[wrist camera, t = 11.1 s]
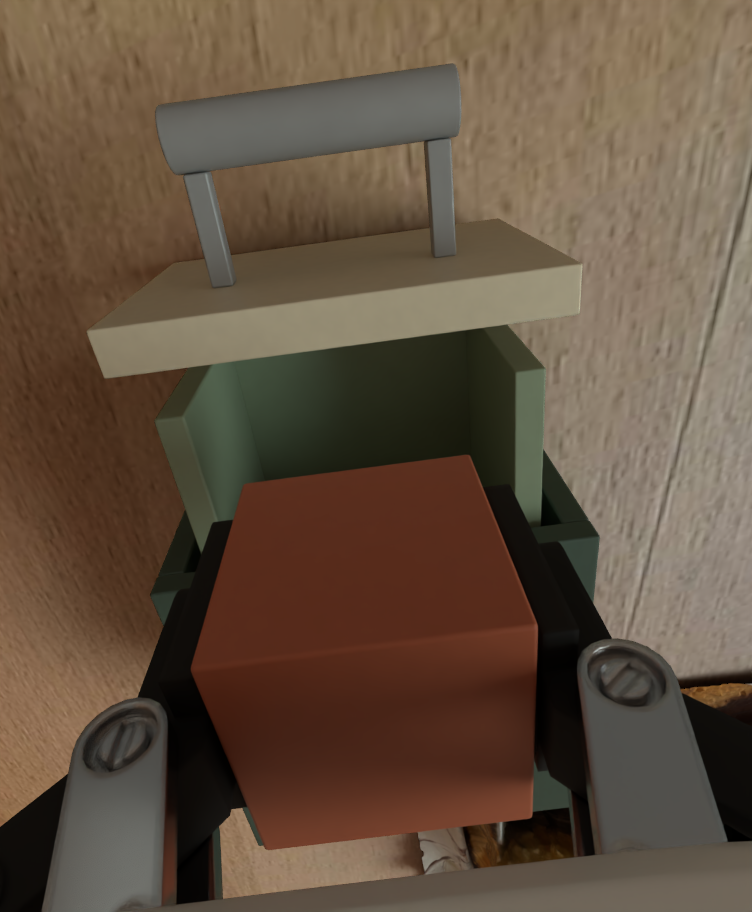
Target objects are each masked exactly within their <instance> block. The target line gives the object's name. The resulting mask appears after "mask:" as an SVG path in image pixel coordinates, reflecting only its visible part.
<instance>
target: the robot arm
mask: <svg viewBox="0 0 752 912" xmlns="http://www.w3.org/2000/svg"><path fill="white" fill-rule="evenodd" d="M483 489H484V492H485V494H486V497H487V499H488V502H489V504H490V507H491V509H492V512H493V514H494V517H495V519H496V522H497V524H498V527H499V529H500V532H501V534H502V537H503V539H504V542H505V544H506V547H507V549H508V552H509V554H510V557H511V559H512V562H513V564H514V567H515V569H516V572H517V574H518V577H519V579H520V582H521V584H522V587H523V589H524V592H525V594H526V597H527V599H528V602H529V604H530V607H531V609H532V612H533V614H534V617H535V619H536V622H537V624H538V646H537V679H536V713H535V746H534V761H535V764H536V767H537V770H538V772H541V771H549V774H550V777H552V778H553V779H555V780H556V781H558V782H560V783H561V784H563V785H564V786H566V787H567V791H568V801H569V811H570V822H571V832H572V842H573V852H574V858H565V859H557V860H548V861H539V862H530V863H521V864H513V865H504V866H495V867H486V868H477V869H468V870H460V871H451V872H443V873H434V874H426V875H418V876H409V877H401V878H392V879H384V880H375V881H367V882H359V883H350V884H342V885H334V886H325V887H317V888H309V889H300V890H292V891H283V892H275V893H267V894H259V895H251V896H243V897H235V898H227V899H223V887H222V867H221V847H220V830H219V826H220V825H221V824H222V823H223V822H224V821H225V820H226V819H227V818H228V817H229V816H230V812H231V809H236V808H244V807H247V804H246V802H245V800H244V797H243V795H242V792H241V790H240V788H239V785H238V783H237V780H236V778H235V776H234V773H233V771H232V769H231V766H230V764H229V761H228V759H227V757H226V754H225V752H224V749H223V747H222V745H221V742H220V740H219V737H218V735H217V733H216V730H215V728H214V725H213V723H212V721H211V718H210V716H209V714H208V711H207V709H206V706H205V704H204V702H203V699H202V697H201V694H200V692H199V690H198V687H197V685H196V682H195V680H194V678H193V675H192V673H191V665H192V662H193V658H194V655H195V651H196V648H197V644H198V641H199V637H200V634H201V631H202V627H203V624H204V620H205V617H206V613H207V610H208V606H209V603H210V599H211V596H212V592H213V589H214V585H215V582H216V578H217V575H218V571H219V568H220V564H221V561H222V557H223V554H224V550H225V547H226V543H227V540H228V537H229V533H230V530H231V526H232V523H233V520H225V521H218V522H213V523H212V525H211V528H210V531H209V533H208V536H207V539H206V542H205V545H204V548H203V551H202V554H201V557H200V560H199V563H198V566H197V569H196V572H195V575H194V578H193V581H192V583H191V586H190V588H186V589H180V590H179V591H178V592H177V593H176V595H175V597H174V599H173V602H172V605H171V608H170V610H169V613H168V616H167V619H166V621H165V624H164V627H163V629H162V632H161V635H160V638H159V640H158V643H157V646H156V649H155V651H154V654H153V657H152V659H151V662H150V665H149V668H148V670H147V673H146V676H145V678H144V681H143V684H142V687H141V689H140V692H139V695H138V698H133V699H128V700H124V701H122V702H119V703H117V704H115V705H112V706H110V707H109V708H107V709H106V710H104V711H103V712H101V713H100V714H99V715H97V716H96V717H95V718H94V719H93V720H92V721H91V722H90V723H89V724H88V725H87V726H86V727H85V729H84V730H83V732H82V733H81V735H80V736H79V738H78V739H77V741H76V744H75V747H74V749H73V752H72V757H71V762H70V767H69V772H68V774H67V775H66V776H65V777H63V778H62V779H61V780H59V781H58V782H57V783H56V784H54V785H53V786H52V787H51V788H49V789H48V790H47V791H45V792H44V793H43V794H42V795H40V796H39V797H38V798H37V799H35V800H34V801H33V802H31V803H30V804H29V805H28V806H26V807H25V808H24V809H22V810H21V811H20V812H19V813H17V814H16V815H15V816H14V817H12V818H11V819H10V820H8V821H7V822H6V823H5V824H3V825H2V826H1V827H0V912H752V726H750V725H748V724H746V723H744V722H742V721H740V720H737V719H735V718H733V717H731V716H729V715H727V714H725V713H723V712H721V711H719V710H717V709H715V708H713V707H710V706H708V705H706V704H704V703H702V702H700V701H698V700H696V699H694V698H692V697H690V696H688V695H686V694H684V693H681V690H680V687H679V684H678V680H677V678H676V676H675V674H674V672H673V670H672V668H671V666H670V665H669V664H668V663H667V662H666V661H665V660H664V659H663V658H662V657H661V656H660V655H659V654H658V653H656V652H654V651H653V650H651V649H650V648H648V647H647V646H644V645H641V644H639V643H636V642H634V641H629V640H623V639H612V638H611V636H610V634H609V632H608V630H607V628H606V627H605V625H604V623H603V621H602V619H601V617H600V615H599V613H598V612H597V610H596V608H595V606H594V604H593V602H592V600H591V599H590V597H589V595H588V593H587V591H586V589H585V587H584V585H583V584H582V582H581V580H580V578H579V576H578V574H577V572H576V571H575V569H574V567H573V565H572V563H571V561H570V559H569V557H568V556H567V554H566V552H565V550H564V548H563V547H562V545H561V544H560V543H559V542H558V541H554V542H546V543H538V542H537V540H536V538H535V536H534V534H533V532H532V529H531V527H530V525H529V523H528V521H527V519H526V517H525V515H524V513H523V511H522V509H521V507H520V504H519V502H518V500H517V498H516V496H515V494H514V492H513V490H512V488H511V486H510V484H503V485H496V486H488V487H483Z"/></svg>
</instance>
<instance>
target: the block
mask: <svg viewBox="0 0 752 912" xmlns="http://www.w3.org/2000/svg"><path fill="white" fill-rule="evenodd" d="M537 646H538V624H537V622H536V619H535V617H534V614H533V612H532V609H531V607H530V604H529V602H528V599H527V597H526V594H525V592H524V589H523V587H522V584H521V582H520V579H519V577H518V574H517V572H516V569H515V567H514V564H513V562H512V559H511V557H510V554H509V552H508V549H507V547H506V544H505V542H504V539H503V537H502V534H501V532H500V529H499V527H498V524H497V522H496V519H495V517H494V514H493V512H492V509H491V507H490V504H489V502H488V499H487V497H486V494H485V492H484V489H483V487H482V484H481V482H480V479H479V477H478V474H477V472H476V469H475V467H474V464H473V462H472V459H471V457H470V456H469V455H460V456H453V457H445V458H437V459H430V460H422V461H414V462H407V463H399V464H391V465H384V466H376V467H368V468H361V469H353V470H345V471H338V472H330V473H322V474H315V475H307V476H299V477H292V478H284V479H276V480H269V481H261V482H253V483H246V484H244V485H243V488H242V491H241V495H240V498H239V502H238V505H237V509H236V512H235V516H234V519H233V523H232V526H231V530H230V533H229V537H228V540H227V543H226V547H225V550H224V554H223V557H222V561H221V564H220V568H219V571H218V575H217V578H216V582H215V585H214V589H213V592H212V596H211V599H210V603H209V606H208V610H207V613H206V617H205V620H204V624H203V627H202V631H201V634H200V637H199V641H198V644H197V648H196V651H195V655H194V658H193V662H192V665H191V673H192V675H193V678H194V680H195V682H196V685H197V687H198V690H199V692H200V694H201V697H202V699H203V702H204V704H205V706H206V709H207V711H208V714H209V716H210V718H211V721H212V723H213V725H214V728H215V730H216V733H217V735H218V737H219V740H220V742H221V745H222V747H223V749H224V752H225V754H226V757H227V759H228V761H229V764H230V766H231V769H232V771H233V773H234V776H235V778H236V780H237V783H238V785H239V788H240V790H241V792H242V795H243V797H244V800H245V802H246V804H247V807H248V809H249V812H250V814H251V816H252V819H253V821H254V824H255V826H256V828H257V831H258V833H259V836H260V838H261V840H262V843H263V845H264V847H265V849H267V850H273V849H282V848H290V847H298V846H307V845H315V844H323V843H331V842H340V841H348V840H356V839H365V838H373V837H381V836H390V835H398V834H406V833H414V832H423V831H431V830H439V829H448V828H456V827H464V826H472V825H481V824H489V823H497V822H506V821H514V820H522V819H529V818H531V817H532V813H533V780H534V746H535V713H536V679H537Z"/></svg>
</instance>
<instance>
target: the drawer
mask: <svg viewBox="0 0 752 912" xmlns="http://www.w3.org/2000/svg"><path fill="white" fill-rule="evenodd" d="M155 119H156V128H157V133H158V137H159V141H160V145H161V148H162V151H163V154H164V156H165V159H166V161H167V163H168V165H169V167H170V169H171V170H172V172H173V173H174V174H175V175H184V176H183V179H184V183H185V187H186V191H187V194H188V198H189V202H190V206H191V210H192V213H193V217H194V221H195V225H196V229H197V232H198V236H199V240H200V244H201V248H202V251H203V255H204V259H199V260H192V261H185V262H177V263H173V264H172V265H171V266H169V267H168V268H167V269H165V270H164V271H163V272H162V273H160V274H159V275H158V276H156V277H155V278H154V279H153V280H151V281H150V282H149V283H147V284H146V285H145V286H144V287H142V288H141V289H140V290H138V291H137V292H136V293H135V294H133V295H132V296H131V297H129V298H128V299H127V300H126V301H124V302H123V303H122V304H120V305H119V306H118V307H117V308H115V309H114V310H113V311H112V312H110V313H109V314H108V315H106V316H105V317H104V318H103V319H101V320H100V321H99V322H97V323H96V324H95V325H94V326H92V327H91V328H90V329H88V330H87V335H88V338H89V340H90V343H91V346H92V348H93V351H94V353H95V356H96V358H97V361H98V364H99V366H100V369H101V371H102V374H103V376H104V378H105V379H108V378H116V377H123V376H130V375H138V374H145V373H153V372H160V371H167V370H175V369H182V368H188V369H187V371H186V372H185V374H184V376H183V377H182V379H181V380H180V382H179V383H178V385H177V386H176V388H175V389H174V391H173V393H172V394H171V396H170V397H169V399H168V400H167V402H166V403H165V405H164V406H163V408H162V410H161V411H160V413H159V414H158V416H157V417H156V419H155V425H156V428H157V431H158V434H159V437H160V439H161V442H162V445H163V448H164V451H165V453H166V456H167V459H168V462H169V465H170V468H171V470H172V473H173V476H174V479H175V482H176V484H177V487H178V490H179V493H180V496H181V499H182V501H183V504H184V507H185V510H186V513H187V515H188V518H189V521H190V524H191V527H192V529H193V532H194V535H195V538H196V541H197V544H198V546H199V549H200V552H201V554H202V551H203V548H204V545H205V542H206V539H207V536H208V533H209V531H210V528H211V525H212V523H213V522H218V521H225V520H233V519H234V516H235V512H236V509H237V505H238V502H239V498H240V495H241V491H242V488H243V485H244V484H246V483H253V482H261V481H269V480H276V479H284V478H292V477H299V476H307V475H315V474H322V473H330V472H338V471H345V470H353V469H361V468H368V467H376V466H384V465H391V464H399V463H407V462H414V461H422V460H430V459H437V458H445V457H453V456H460V455H469V456H470V457H471V459H472V462H473V464H474V467H475V469H476V472H477V474H478V477H479V479H480V482H481V484H482V487H488V486H496V485H503V484H510V486H511V488H512V490H513V492H514V494H515V496H516V498H517V500H518V502H519V504H520V507H521V509H522V511H523V513H524V515H525V517H526V519H527V521H528V523H529V525H530V527H531V528H534V527H541V499H542V468H543V437H544V405H545V374H546V369H545V367H544V366H543V365H542V364H541V363H540V362H539V360H538V359H537V358H536V357H535V356H534V355H533V354H532V352H531V351H530V350H529V349H528V348H527V347H526V346H525V344H524V343H523V342H522V341H521V340H520V339H519V338H518V336H517V335H516V334H515V333H514V332H513V331H512V330H511V328H510V327H509V326H508V324H515V323H523V322H530V321H537V320H545V319H552V318H560V317H567V316H574V315H579V313H580V298H581V282H582V266H583V265H582V263H580V262H578V261H576V260H575V259H573V258H571V257H569V256H567V255H565V254H563V253H562V252H560V251H558V250H556V249H554V248H552V247H550V246H549V245H547V244H545V243H543V242H541V241H539V240H537V239H535V238H534V237H532V236H530V235H528V234H526V233H524V232H522V231H521V230H519V229H517V228H515V227H513V226H511V225H509V224H508V223H506V222H504V221H502V220H500V219H490V220H483V221H476V222H469V223H461V224H455V216H454V195H453V173H452V152H451V139H450V138H451V137H456V136H457V135H458V133H459V130H460V123H461V90H460V81H459V75H458V71H457V68H456V65H455V64H453V63H452V64H445V65H438V66H431V67H424V68H417V69H410V70H403V71H395V72H388V73H381V74H374V75H367V76H360V77H353V78H346V79H339V80H331V81H324V82H317V83H310V84H303V85H296V86H289V87H282V88H275V89H268V90H260V91H253V92H246V93H239V94H232V95H225V96H218V97H211V98H204V99H196V100H189V101H182V102H175V103H168V104H161V105H158V106H157V107H156V111H155ZM422 141H424V153H425V168H426V183H427V197H428V212H429V227H430V228H425V229H418V230H410V231H403V232H396V233H389V234H381V235H374V236H367V237H359V238H352V239H345V240H338V241H330V242H323V243H316V244H308V245H301V246H294V247H287V248H279V249H272V250H265V251H257V252H250V253H243V254H236V255H231V254H230V250H229V245H228V241H227V237H226V233H225V229H224V225H223V220H222V216H221V212H220V208H219V204H218V200H217V195H216V191H215V187H214V183H213V179H212V174H211V172H210V171H214V170H221V169H228V168H235V167H243V166H250V165H257V164H264V163H271V162H278V161H286V160H293V159H300V158H307V157H314V156H322V155H329V154H336V153H343V152H350V151H357V150H365V149H372V148H379V147H386V146H393V145H401V144H408V143H415V142H422ZM185 174H186V175H185Z"/></svg>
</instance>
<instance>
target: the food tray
mask: <svg viewBox="0 0 752 912" xmlns="http://www.w3.org/2000/svg"><path fill="white" fill-rule="evenodd" d="M680 690H681V693H684V694H686V695H688V696H690V697H692V698H694V699H696V700H698V701H700V702H702V703H704V704H706V705H708V706H710V707H713V708H715V709H717V710H719V711H721V712H723V713H725V714H727V715H729V716H731V717H733V718H735V719H737V720H740V721H742V722H744V723H746V724H748V725H750V726H752V684H740V683H737V684H733V683H729V684H721V685H720V686H713V685H712V686H708V687H693V688H690V690H689V689H687V688H685V689H680ZM418 837H419V842H420V849H421V850H422V851H423V852H424V854H423V855H424V856H423V857H422V861H423V866H424V872H425V875H426V874H434V873H443V872H451V871H460V870H468V869H477V868H486V867H495V866H504V865H513V864H521V863H530V862H539V861H548V860H557V859H565V858H574V852H573V842H572V832H571V822H570V811H569V807H567V808H559V809H551V810H543V811H535V812H533V813H532V817H531V818H529V819H522V820H514V821H506V822H497V823H489V824H481V825H472V826H464V827H456V828H448V829H439V830H431V831H423V832H418Z"/></svg>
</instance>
